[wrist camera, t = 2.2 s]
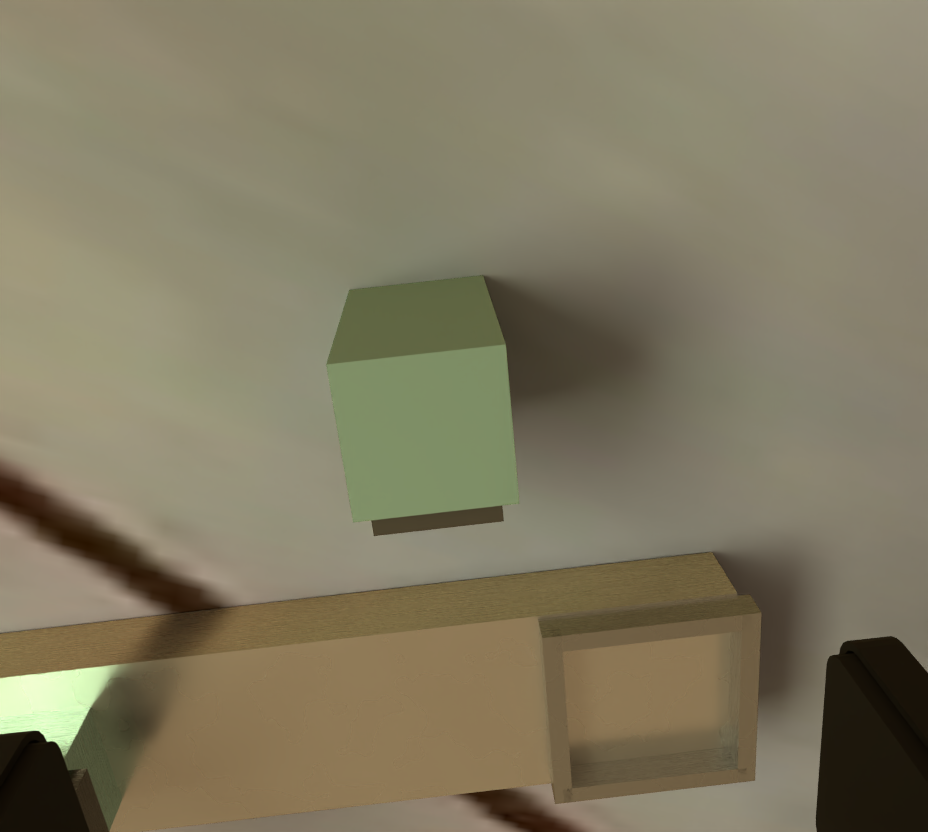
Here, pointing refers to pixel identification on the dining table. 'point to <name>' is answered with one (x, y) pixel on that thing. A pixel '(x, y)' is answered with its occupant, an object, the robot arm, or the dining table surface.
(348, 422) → the pale green gift box
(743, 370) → the dining table surface
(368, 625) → the rail
